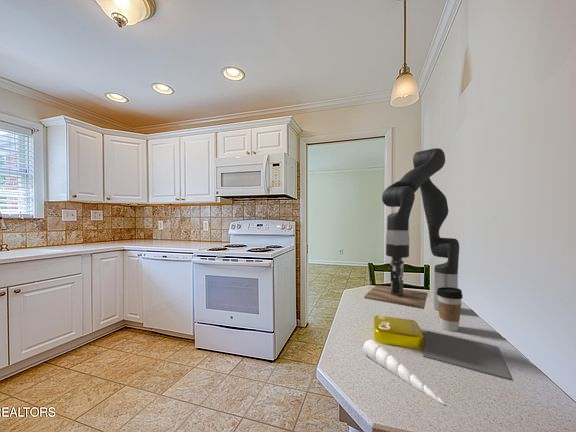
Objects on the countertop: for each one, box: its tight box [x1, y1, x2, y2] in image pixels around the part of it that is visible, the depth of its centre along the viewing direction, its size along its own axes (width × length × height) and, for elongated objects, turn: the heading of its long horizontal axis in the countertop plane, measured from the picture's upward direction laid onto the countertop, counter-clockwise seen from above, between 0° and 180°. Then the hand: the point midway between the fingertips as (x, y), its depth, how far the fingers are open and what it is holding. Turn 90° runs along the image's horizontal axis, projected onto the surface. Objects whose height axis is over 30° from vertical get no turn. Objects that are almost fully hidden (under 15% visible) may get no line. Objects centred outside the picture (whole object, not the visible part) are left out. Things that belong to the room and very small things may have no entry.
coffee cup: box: [437, 287, 463, 332], centre depth 96 cm, size 8×8×15 cm
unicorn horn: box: [362, 339, 446, 406], centre depth 66 cm, size 5×24×5 cm, turn 22°
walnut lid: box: [363, 279, 428, 310], centre depth 89 cm, size 18×18×6 cm
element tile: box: [373, 315, 424, 350], centre depth 88 cm, size 15×15×5 cm
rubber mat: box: [422, 330, 512, 381], centre depth 78 cm, size 20×20×1 cm
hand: (396, 291), depth 89 cm, fingers closed on walnut lid, 4 cm apart
